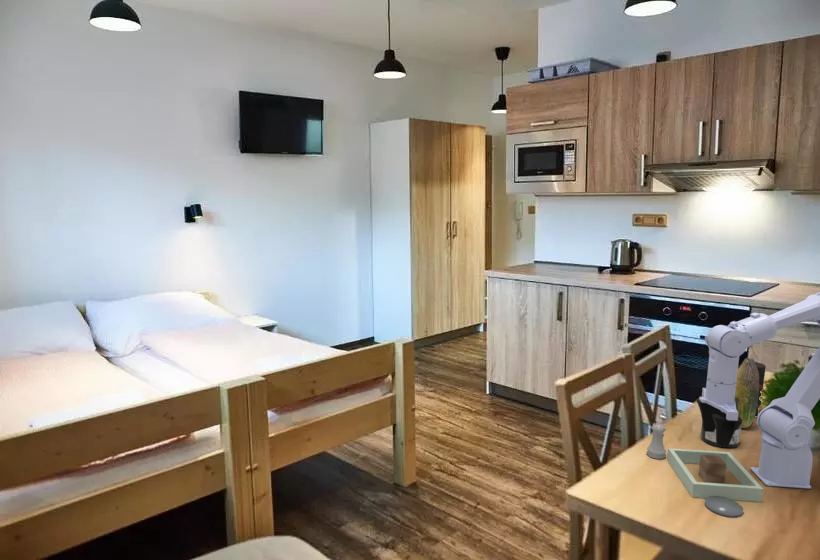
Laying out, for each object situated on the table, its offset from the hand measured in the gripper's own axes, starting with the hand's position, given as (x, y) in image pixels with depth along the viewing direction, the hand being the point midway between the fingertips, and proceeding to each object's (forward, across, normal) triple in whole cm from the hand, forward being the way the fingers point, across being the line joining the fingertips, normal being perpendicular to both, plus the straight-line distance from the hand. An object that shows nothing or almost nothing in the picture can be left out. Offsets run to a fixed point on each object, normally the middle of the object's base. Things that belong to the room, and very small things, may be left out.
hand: (715, 438), depth 129 cm
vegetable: (+10, -32, +20) cm, 39 cm away
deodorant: (+10, -42, +26) cm, 51 cm away
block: (+10, 0, 0) cm, 10 cm away
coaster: (+10, +12, -2) cm, 16 cm away
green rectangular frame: (+10, 0, 0) cm, 10 cm away
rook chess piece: (+10, -10, -9) cm, 17 cm away
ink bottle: (+10, -22, +10) cm, 26 cm away
